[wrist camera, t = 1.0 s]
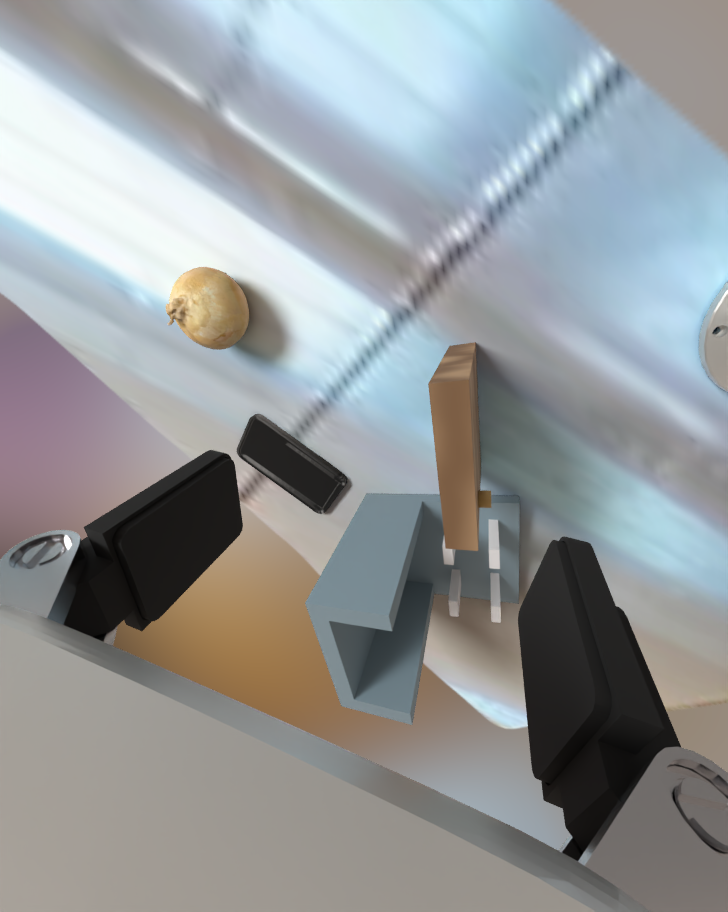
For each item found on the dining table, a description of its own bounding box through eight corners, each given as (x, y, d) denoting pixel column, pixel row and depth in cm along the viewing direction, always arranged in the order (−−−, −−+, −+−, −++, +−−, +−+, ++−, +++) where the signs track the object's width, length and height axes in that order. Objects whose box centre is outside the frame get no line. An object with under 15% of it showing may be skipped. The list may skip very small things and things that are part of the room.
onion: (224, 250, 35) (170, 244, 29) (273, 315, 37) (232, 322, 31) (188, 301, 39) (134, 305, 33) (234, 358, 41) (190, 371, 35)
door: (486, 340, 31) (486, 377, 19) (490, 464, 36) (492, 552, 25) (449, 346, 32) (428, 384, 21) (458, 464, 38) (445, 548, 26)
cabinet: (518, 495, 37) (539, 638, 22) (517, 594, 43) (533, 757, 28) (366, 493, 44) (305, 603, 29) (384, 579, 50) (341, 706, 35)
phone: (321, 516, 47) (234, 453, 47) (325, 511, 48) (239, 450, 48) (348, 481, 43) (252, 411, 42) (351, 476, 44) (257, 408, 43)
